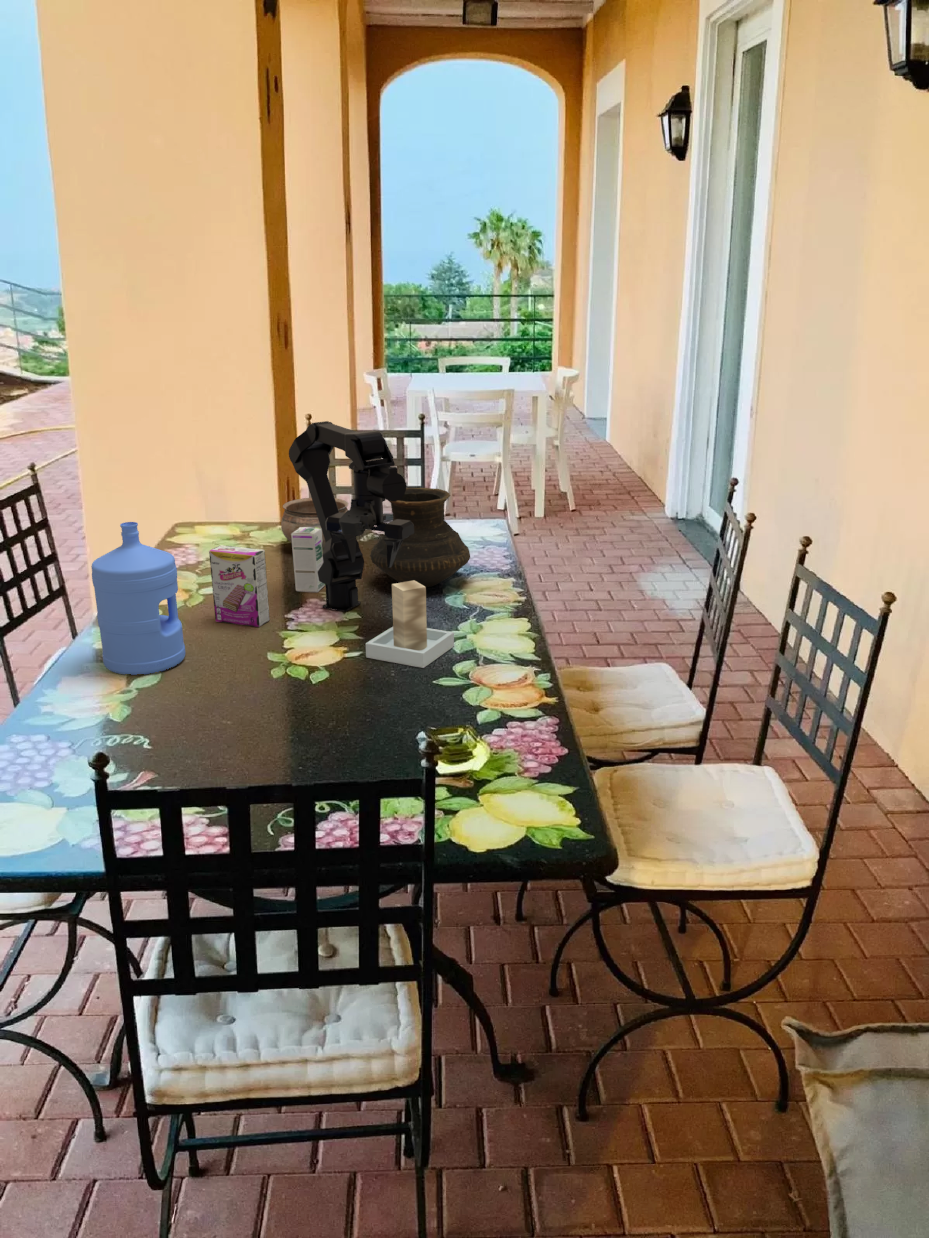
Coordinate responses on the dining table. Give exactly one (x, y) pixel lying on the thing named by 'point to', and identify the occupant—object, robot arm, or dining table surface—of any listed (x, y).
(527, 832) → the dining table surface
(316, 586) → the syrup box
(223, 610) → the candy bar box
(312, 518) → the cooking pot
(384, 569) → the ceramic pot
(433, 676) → the dining table surface
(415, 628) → the birch block
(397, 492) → the robot arm
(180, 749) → the dining table surface
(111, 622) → the water jug
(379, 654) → the tray
